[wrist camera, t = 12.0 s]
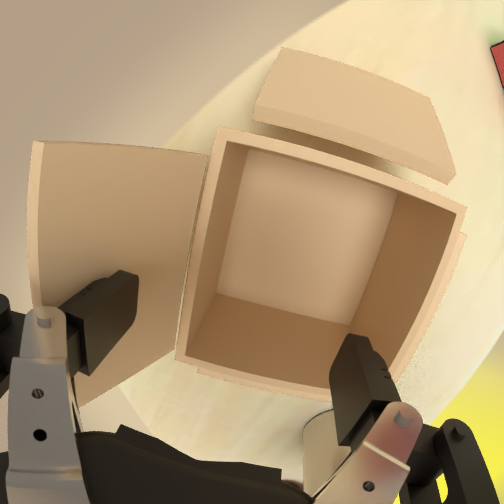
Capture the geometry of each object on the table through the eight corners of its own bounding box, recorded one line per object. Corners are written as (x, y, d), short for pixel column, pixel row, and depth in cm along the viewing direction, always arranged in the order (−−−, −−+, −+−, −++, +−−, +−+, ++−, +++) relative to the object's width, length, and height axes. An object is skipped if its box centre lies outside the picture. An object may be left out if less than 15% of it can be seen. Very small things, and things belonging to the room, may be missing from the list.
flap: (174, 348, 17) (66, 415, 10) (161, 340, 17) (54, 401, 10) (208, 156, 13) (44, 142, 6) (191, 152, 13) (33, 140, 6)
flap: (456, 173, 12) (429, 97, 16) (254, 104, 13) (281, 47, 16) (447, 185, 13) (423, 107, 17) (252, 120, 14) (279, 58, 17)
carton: (357, 340, 27) (381, 412, 18) (206, 304, 28) (172, 370, 18) (414, 192, 22) (479, 213, 13) (242, 140, 23) (215, 126, 13)
